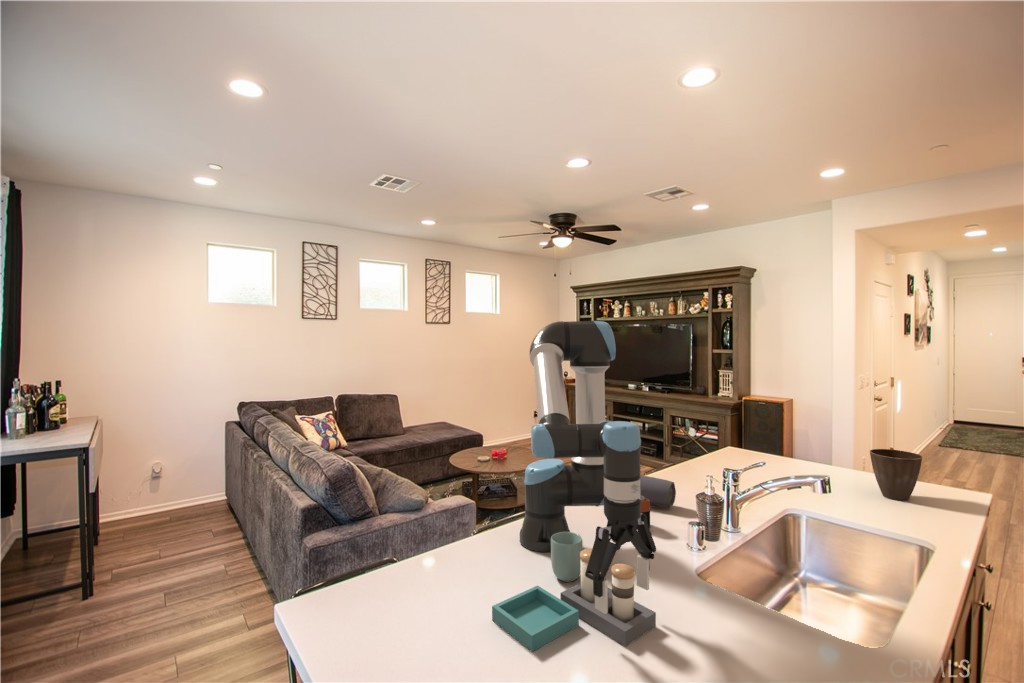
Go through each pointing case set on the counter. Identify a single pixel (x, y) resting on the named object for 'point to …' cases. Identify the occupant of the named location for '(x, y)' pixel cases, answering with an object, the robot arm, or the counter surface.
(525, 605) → the parts tray
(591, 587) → the cylinder
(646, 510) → the battery
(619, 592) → the fuse
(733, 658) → the counter surface
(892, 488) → the plant pot
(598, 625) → the fuse holder
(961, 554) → the counter surface
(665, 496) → the bluetooth speaker
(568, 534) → the cup
